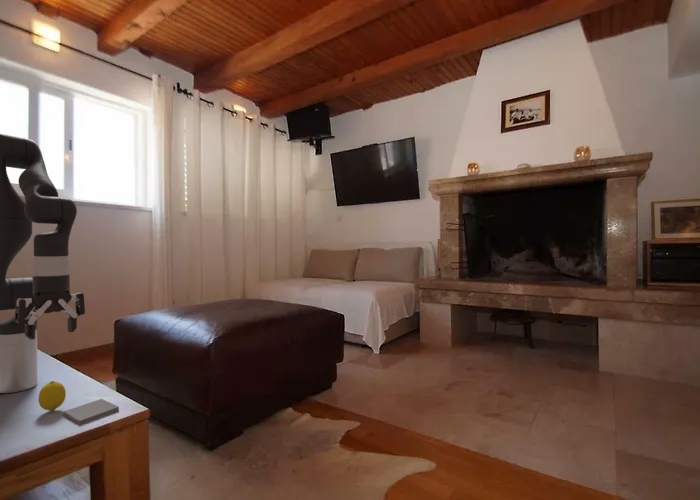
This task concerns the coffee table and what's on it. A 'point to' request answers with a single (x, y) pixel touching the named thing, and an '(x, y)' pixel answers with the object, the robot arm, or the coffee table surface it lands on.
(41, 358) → the coffee table surface
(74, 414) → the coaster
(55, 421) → the coffee table surface
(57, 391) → the lemon
